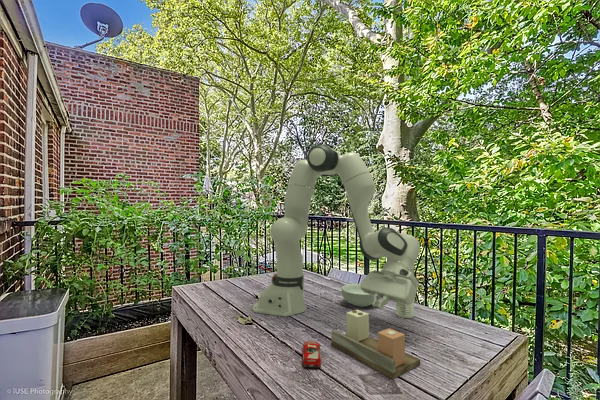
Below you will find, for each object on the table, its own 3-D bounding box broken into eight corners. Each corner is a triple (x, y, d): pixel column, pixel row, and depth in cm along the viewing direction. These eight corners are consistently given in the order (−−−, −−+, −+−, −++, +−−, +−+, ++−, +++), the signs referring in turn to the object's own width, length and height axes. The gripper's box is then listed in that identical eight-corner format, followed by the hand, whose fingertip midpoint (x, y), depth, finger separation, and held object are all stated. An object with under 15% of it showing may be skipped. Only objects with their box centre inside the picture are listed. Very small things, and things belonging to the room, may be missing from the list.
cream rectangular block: (357, 332, 100) (357, 308, 100) (368, 337, 96) (368, 312, 96) (346, 336, 97) (346, 311, 97) (357, 341, 93) (357, 316, 93)
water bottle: (415, 319, 116) (415, 254, 117) (397, 318, 117) (397, 254, 118) (412, 313, 123) (412, 252, 123) (395, 312, 124) (395, 251, 125)
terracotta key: (389, 355, 84) (389, 327, 85) (404, 362, 80) (404, 333, 81) (377, 360, 82) (377, 331, 82) (393, 368, 77) (393, 337, 78)
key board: (357, 335, 101) (358, 322, 102) (420, 364, 83) (420, 348, 83) (331, 345, 94) (331, 330, 94) (392, 379, 76) (392, 361, 76)
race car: (302, 347, 93) (303, 334, 93) (320, 348, 93) (320, 335, 93) (300, 370, 80) (301, 355, 80) (321, 371, 80) (321, 355, 80)
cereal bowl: (334, 301, 139) (334, 285, 139) (364, 296, 146) (364, 282, 146) (355, 312, 123) (355, 295, 124) (387, 307, 130) (387, 291, 130)
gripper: (367, 264, 115) (349, 294, 109) (415, 273, 98) (397, 310, 92) (375, 274, 117) (358, 304, 111) (423, 285, 101) (406, 321, 95)
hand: (376, 307), depth 102 cm, fingers closed
